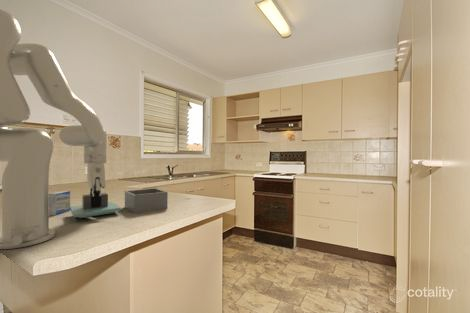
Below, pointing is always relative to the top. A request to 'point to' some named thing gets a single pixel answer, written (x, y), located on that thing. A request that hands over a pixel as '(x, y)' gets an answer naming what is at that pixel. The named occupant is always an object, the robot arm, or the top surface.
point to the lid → (87, 210)
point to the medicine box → (59, 202)
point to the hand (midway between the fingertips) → (95, 205)
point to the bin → (145, 200)
